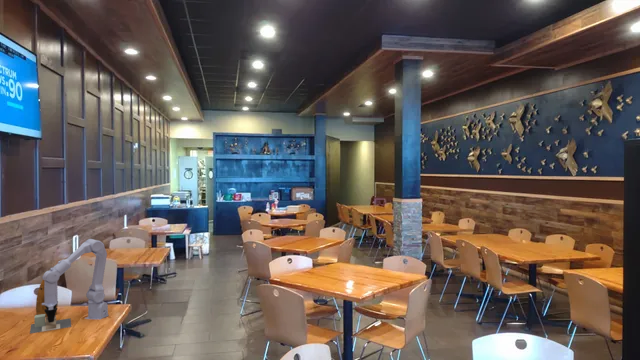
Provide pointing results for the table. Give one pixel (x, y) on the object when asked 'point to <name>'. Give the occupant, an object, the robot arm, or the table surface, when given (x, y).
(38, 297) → the coffee package
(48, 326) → the walnut block
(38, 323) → the sage block
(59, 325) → the board
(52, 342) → the table surface
